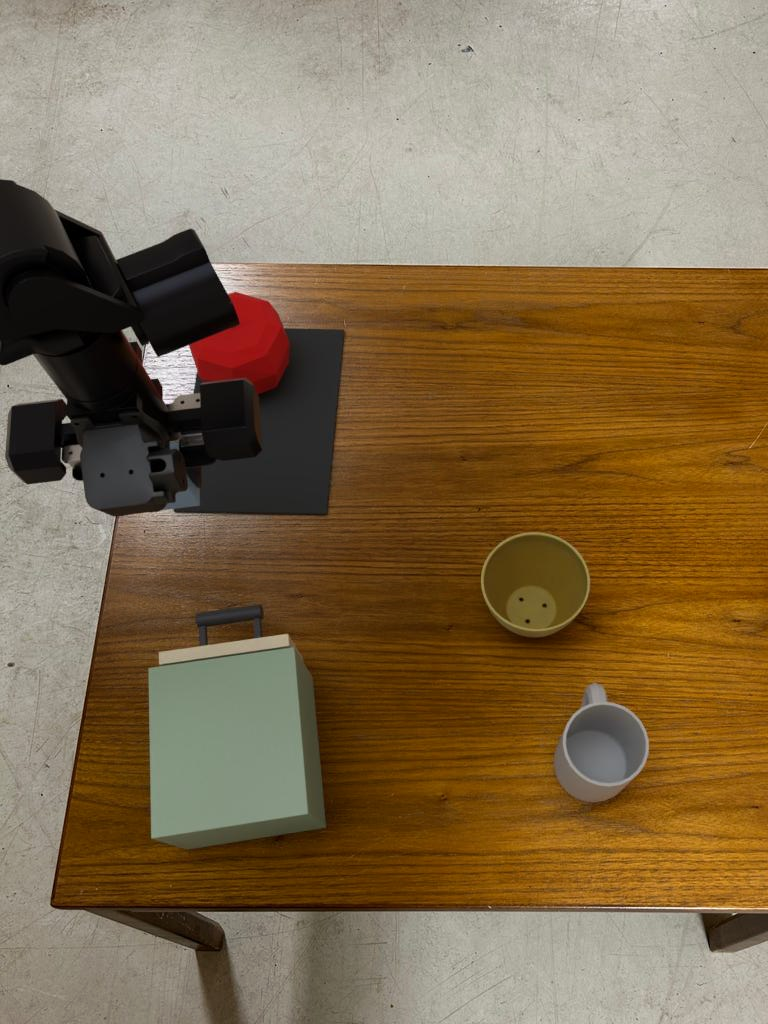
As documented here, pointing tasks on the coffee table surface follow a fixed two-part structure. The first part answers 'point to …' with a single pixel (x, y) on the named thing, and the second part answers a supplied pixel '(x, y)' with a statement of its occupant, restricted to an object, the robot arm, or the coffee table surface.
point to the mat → (285, 438)
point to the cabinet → (233, 750)
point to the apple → (246, 346)
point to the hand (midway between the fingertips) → (174, 486)
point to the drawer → (227, 648)
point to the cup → (600, 748)
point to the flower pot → (535, 583)
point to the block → (185, 492)
